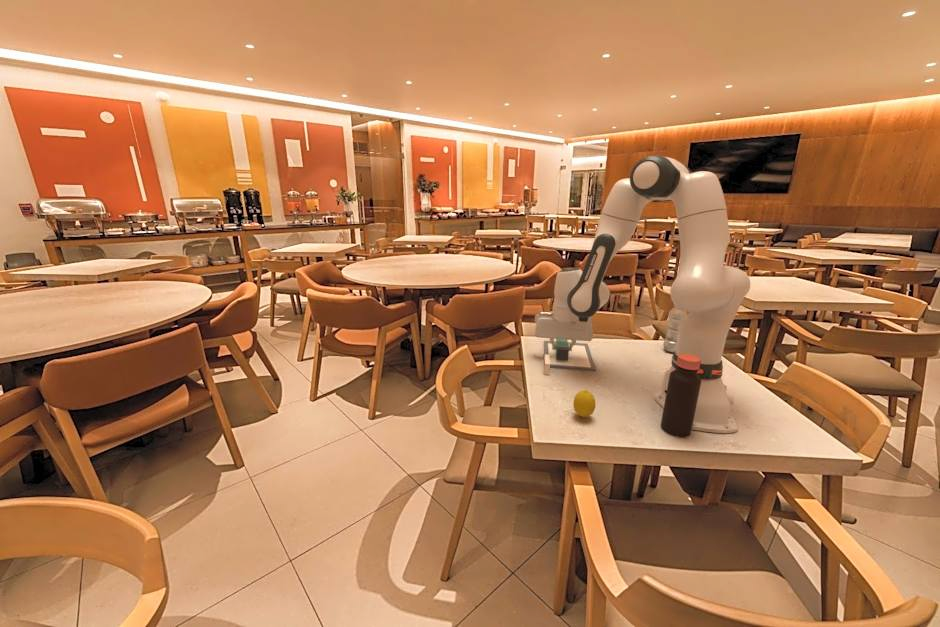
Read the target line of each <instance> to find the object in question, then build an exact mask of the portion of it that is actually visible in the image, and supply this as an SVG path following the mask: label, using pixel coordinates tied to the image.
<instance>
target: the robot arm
mask: <svg viewBox="0 0 940 627" xmlns="http://www.w3.org/2000/svg"><path fill="white" fill-rule="evenodd" d="M651 202H653V203H660V202H673V204H674V207H675V214H676V221H677V229H678V237H679V246H680V249H679V250H680V254H679V264H678V267H677V268H678V269H677V273H676V276H675V277H676V278H675V279H674V280H673V282H672V284H671V286H670V290H669V291H670V292H669V293H670V294H669V295H670V299H671V301H672V302H673V305H674V304H675V305H676V306H677V307H678V308H679V309H681V310H683V311H686V312H687V315H688V316H687V317H686V319H685V320H684V321H683V323H682V324H681V326H680V329H679V334H678V340H677V345H676V351H674V353H672V356H671V366H670V367H669V368H668V370H665V372H664V373H663V377H662V380H661V384H660V390H659V392H657V393H654V395H653V399H654V400H655V402H656V403H658V404H659V406H661V407H662V409H664V404H665V399H666V393H667V387H668V382H669V376H670V373H671V372H672V371H674V370H675V369H677V366H676V362H677V357H678V355H679V354H691V355H695V356H697V357H699V358H700V359H701V363H700V368H699V371H697V374H698V375H699V376H700V378H701V379H702V381H701V386H700V391H699V396H698V401H697V405H696V410H695V415H694V420H693V425H692V429H691V430H695V431H699V432H706V433H716V434H731V433H736V432H738V430H739V429H738V428H739V427H738V425H737V423H736V421H735V418H734V416H733V415H732V413H731V405H733V404H734V397H733V396H732V395H728V394H727V385H725V384H724V381H723V379H722V376H723V372H724V371H723V369H724V366H723V359H722V358H723V354H724V349H725V345H726V340H727V336H728V334H729V331H730V328H731V326H732V324H733V322H734V320H735V318H736V316H737V313H738V311H739V308H740V307H741V304H742V302H743V300H744V299H745V297H746V296H747V294H748V293H749V291H750V289H751V280H750V278H749V275H748V274H747V273H746V272H745V271H744V270H742V269H740V268H738V267H734V266H731V265H725V257H726V252H727V248H728V246H729V245H730V242H731V234H730V227H729V219H728V212H727V205H726V199H725V195H724V191H723V188H722V185H721V182H720V180H719V178H718V175H716V174H715V173H713V172H711V171H708V170H707V171H706V170H701V171H695V172H692V170H691V169H690V168H689V167H688V165H686V164H685V163H682V162H680V161H678V160H677V159H674V158H673V157H668V156H663V155H660V154H655V155H654V154H653V155H647V156H645V157H643V158H642V159H640V160H639V161H637V162H636V163H635V164H634V166H633V167H632V169H631V171H630V176H629V178H622V179H619V180H618V181H616V182H615V183H614V185H613V186H612V188H611V190H610V191H609V194H608V196H607V198H606V201H605V202H604V204H603V207H602V211H601V213H600V217H599V220H598V223H597V228H596V232H595V236H594V239H593V242H592V246H591V249H590V252H589V254H588V257H587V260H586V262H585V264H584V268H583V270H582V268H579V267H567V268H563V269H561V270H559V271H558V272H557V274H556V278H555V282H554V291H553V293H554V294H553V295H554V300H553V303H552V312H550V311H549V312H545V311H540V312H538V313H536V314H535V315H534V323H535V329H534V335H535V337H536V338H541V339H542V338H543V339H549V341H550V342H551V344H552V350H556V347H557V345H556V344H554V342H553V341H555V340H556V339H565V340H567V341H571V342H570V343H571V344H570V345H568V348H569V351H572V347H573V346H574V345H575V343H577V341H579V342H580V341H581V342H591V341H592V340H593V339H594V327H593V324H592V317H593V316H594V315H595V314H596V313H597V312H598V310H600V309H601V308H602V307H603V306H604V305H606V304H607V303H608V302H609V299H610V298H611V291H610V287H609V286H608V284H606V283H605V282H604V281H603V280H604V277H605V274H606V272H607V270H608V267H609V265H610V262H611V261H612V260H613V258H614V257H615V256H616V254H617V253H618V252H620V250H622V249H623V248H624V247H625V246H626V245H627V244H628V243H629V242H630V240H631V239H632V236H633V235H634V233H635V231H636V229H637V227H638V224H639V221H640V218H641V215H642V213H643V211H644V208H646V207H645V206H646V205H648V204H649V203H651Z"/></svg>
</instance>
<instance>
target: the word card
mask: <svg viewBox="0 0 940 627" xmlns="http://www.w3.org/2000/svg"><path fill="white" fill-rule="evenodd" d="M543 357H544V356H543ZM543 359H544V360H543V375H544V376H550V371H551V370H550V369H551V368H550V356H549V355H548V354H545V357H544V358H543Z"/></svg>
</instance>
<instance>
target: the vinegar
mask: <svg viewBox="0 0 940 627" xmlns="http://www.w3.org/2000/svg"><path fill="white" fill-rule="evenodd" d="M700 363H701V359H700V358H699V357H697V356H695V355H691V354H679V355H678V357H677V362H676V366H677V369H675V370H674V371H672V372H671V373H670V376H669V382H668V387H667V393H666V399H665V404H664V408H663V410H662V416H661V421H660V427H661V429H662V430H663V432H664V433H666V434H668V435H671V436H672V435H674V436H673V437H676V436H678V437H677V438H687V436H688V437H689V436H691V433H692V430H693V429H692V425H693V420H694V415H695V410H696V405H697V401H698V396H699V391H700V386H701V381H702V379H701V378H700V376H699V375H698V374H697V371H699V368H700Z"/></svg>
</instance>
